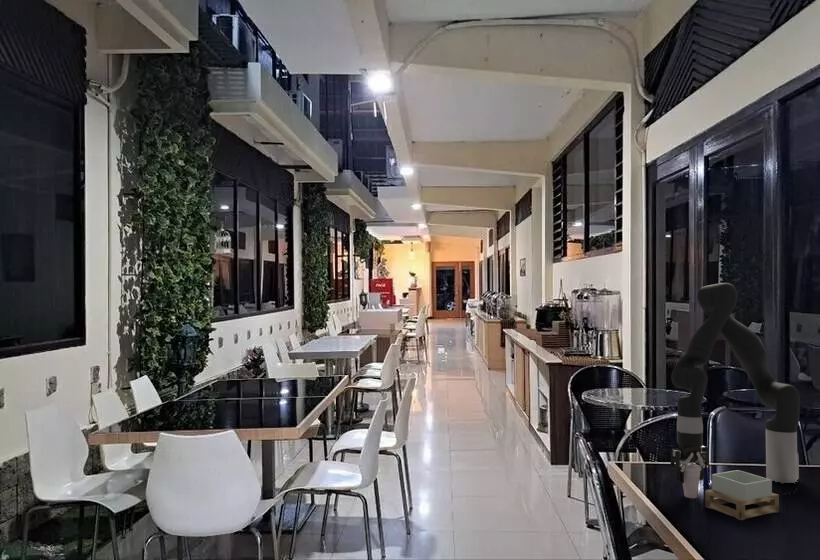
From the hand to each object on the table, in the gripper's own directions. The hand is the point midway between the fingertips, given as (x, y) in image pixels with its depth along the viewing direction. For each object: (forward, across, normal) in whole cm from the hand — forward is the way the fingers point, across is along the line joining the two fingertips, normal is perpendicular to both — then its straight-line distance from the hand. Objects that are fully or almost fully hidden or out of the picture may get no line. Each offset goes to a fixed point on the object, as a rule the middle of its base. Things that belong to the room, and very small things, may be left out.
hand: (690, 481), depth 197 cm
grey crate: (0, -4, +15) cm, 16 cm away
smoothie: (+5, 0, 0) cm, 5 cm away
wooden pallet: (+5, -4, +15) cm, 16 cm away
